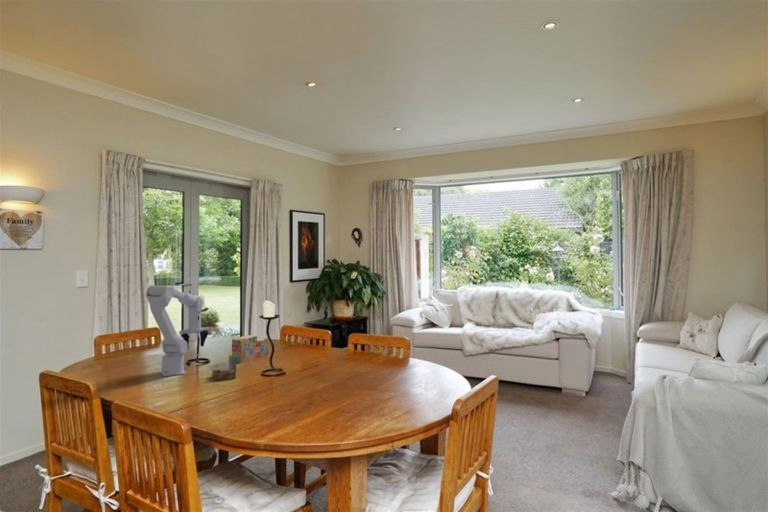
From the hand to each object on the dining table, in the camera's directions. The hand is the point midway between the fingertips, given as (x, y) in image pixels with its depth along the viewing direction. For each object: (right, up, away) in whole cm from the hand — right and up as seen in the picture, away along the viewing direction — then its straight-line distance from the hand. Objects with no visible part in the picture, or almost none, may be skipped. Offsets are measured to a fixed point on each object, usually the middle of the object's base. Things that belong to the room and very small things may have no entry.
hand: (194, 347), depth 218 cm
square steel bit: (+22, -10, -20) cm, 31 cm away
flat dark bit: (+23, -10, -9) cm, 26 cm away
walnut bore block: (+22, -10, -20) cm, 32 cm away
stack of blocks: (+23, -10, +17) cm, 30 cm away
